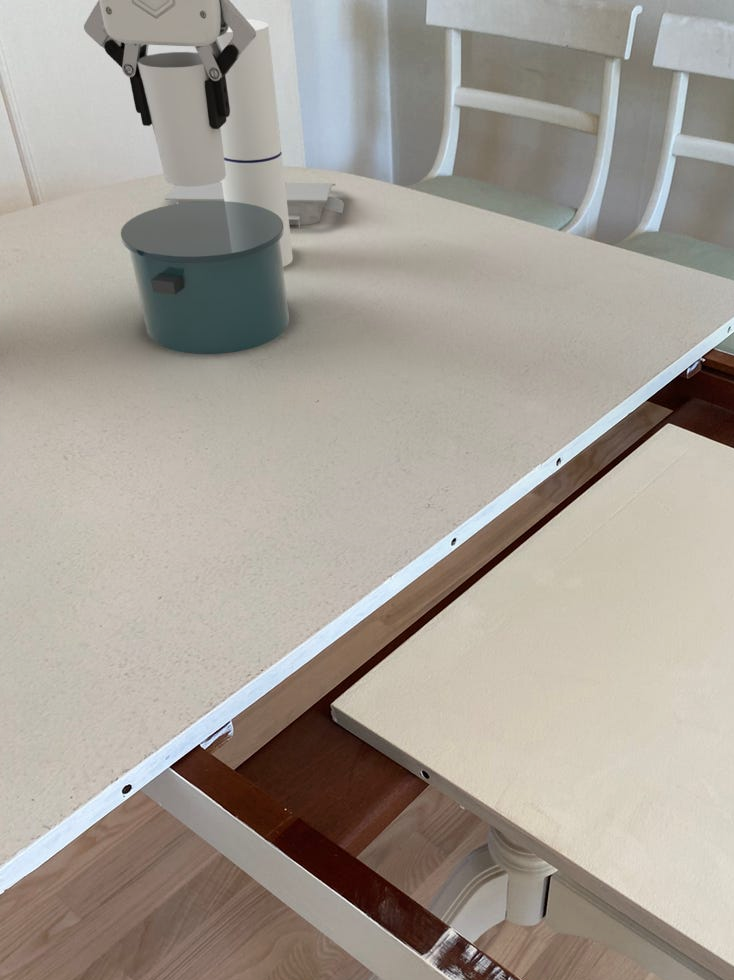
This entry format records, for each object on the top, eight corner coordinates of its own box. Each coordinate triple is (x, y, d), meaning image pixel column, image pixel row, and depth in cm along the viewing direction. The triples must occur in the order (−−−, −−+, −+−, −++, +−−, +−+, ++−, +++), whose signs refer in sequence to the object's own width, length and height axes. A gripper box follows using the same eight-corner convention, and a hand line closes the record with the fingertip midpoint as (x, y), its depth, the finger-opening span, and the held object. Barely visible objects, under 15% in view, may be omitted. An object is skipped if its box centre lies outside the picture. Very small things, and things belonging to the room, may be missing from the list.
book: (338, 235, 126) (335, 204, 124) (158, 234, 125) (152, 202, 123) (345, 196, 138) (343, 167, 135) (181, 195, 137) (175, 165, 134)
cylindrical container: (250, 279, 115) (216, 34, 98) (224, 260, 119) (187, 22, 102) (303, 267, 118) (280, 27, 101) (276, 248, 122) (249, 16, 106)
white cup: (198, 192, 91) (177, 71, 84) (145, 180, 94) (121, 62, 87) (244, 173, 95) (228, 57, 89) (192, 163, 98) (172, 48, 91)
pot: (107, 354, 100) (81, 250, 93) (192, 286, 113) (175, 190, 106) (251, 376, 97) (235, 270, 90) (321, 303, 110) (312, 206, 103)
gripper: (22, -120, 77) (80, 130, 89) (236, -112, 76) (265, 139, 88) (61, -127, 82) (110, 109, 95) (260, -120, 82) (285, 117, 94)
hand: (185, 121), depth 91 cm, fingers closed on white cup, 5 cm apart
